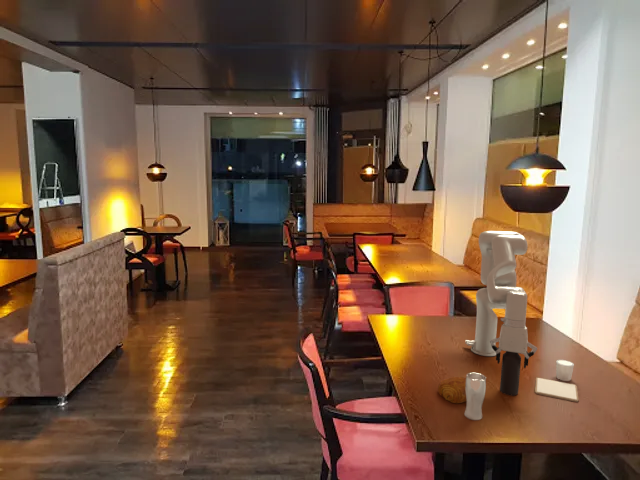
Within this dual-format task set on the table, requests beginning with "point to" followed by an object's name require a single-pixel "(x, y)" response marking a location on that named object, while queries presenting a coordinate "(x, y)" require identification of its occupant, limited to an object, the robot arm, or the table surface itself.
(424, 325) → the table surface
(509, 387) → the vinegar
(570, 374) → the short white cylinder
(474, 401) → the beer glass
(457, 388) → the croissant
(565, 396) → the plate
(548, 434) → the table surface
